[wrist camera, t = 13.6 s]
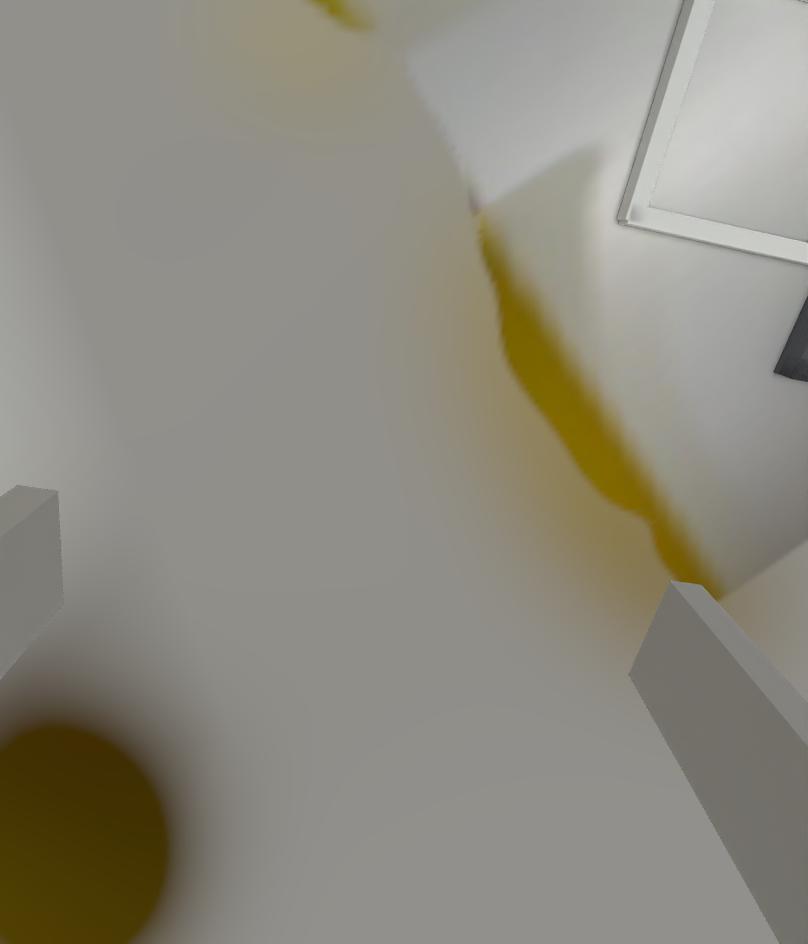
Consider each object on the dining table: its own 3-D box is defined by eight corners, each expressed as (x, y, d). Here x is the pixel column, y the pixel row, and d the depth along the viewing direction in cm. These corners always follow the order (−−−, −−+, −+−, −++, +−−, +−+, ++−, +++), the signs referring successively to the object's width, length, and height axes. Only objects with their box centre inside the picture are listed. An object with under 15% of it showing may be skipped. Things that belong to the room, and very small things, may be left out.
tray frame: (701, -56, 32) (716, -68, 31) (928, 9, 34) (952, 0, 33) (615, 223, 38) (624, 222, 37) (813, 266, 40) (829, 268, 38)
